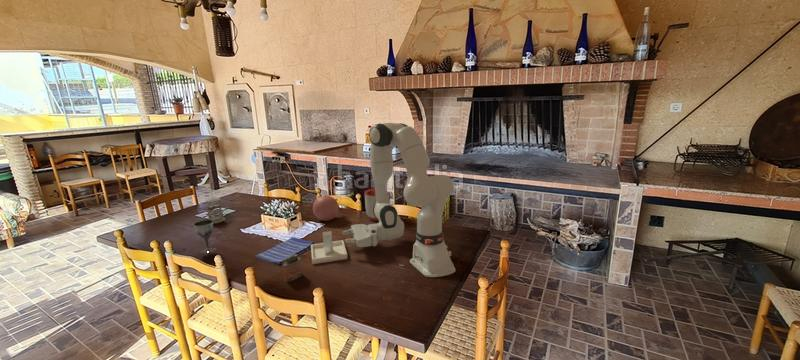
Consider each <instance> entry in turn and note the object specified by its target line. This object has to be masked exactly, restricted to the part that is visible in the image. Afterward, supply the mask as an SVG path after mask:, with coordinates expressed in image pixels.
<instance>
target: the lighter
mask: <svg viewBox="0 0 800 360" xmlns="http://www.w3.org/2000/svg"><path fill="white" fill-rule="evenodd" d="M282 267H283V275H284V282H285V283H289V282H292V281H294V280H296V279H298V278H300V277H302V276H303V272H302V258H301V257H299V255H297V254H295V255H290V257H288V258H285V259H284V263H282Z"/></svg>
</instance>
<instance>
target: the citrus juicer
mask: <svg viewBox="0 0 800 360" xmlns="http://www.w3.org/2000/svg"><path fill="white" fill-rule="evenodd" d="M363 193H364V201H365V202H364V205H365V207H364V208H365V212H366V215H367V217H368V219H369V220H370V221H373V222H379V220H378V219H377V218H376V217H375V216H374V214H373V207H374V204H375V187H374V188H370V189H369V188H368V189H367V190H365V191H364V192H363ZM387 199H388V202H389V204H390V205H391V199H393V196H391V192H390V191H387Z"/></svg>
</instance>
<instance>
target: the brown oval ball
mask: <svg viewBox="0 0 800 360" xmlns="http://www.w3.org/2000/svg"><path fill="white" fill-rule="evenodd" d="M339 208H340V207H339V203H338V198H334V197H333V196H330V195H322V196H319V197H318V198H316V199H315V201H314V202H313V204H312V211H313V215H314V216H315V218H317V220H320V221H324V222H326V221H332V220H333V219H334V218H336V216H337V215H338V213H339V210H340V209H339Z"/></svg>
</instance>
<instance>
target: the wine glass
mask: <svg viewBox="0 0 800 360" xmlns="http://www.w3.org/2000/svg"><path fill="white" fill-rule="evenodd" d="M193 226H194V230H195V233H196V234H197V236H198V237H200V238H202V239H203V240H204V242H205V244H206V247H205V248H203V249H201V250H200V254H202V255H203V254H204V255H205V254H211V253H213V252H215V251H216V250H217V247H215V246H210V245H209V239H210V237H211V235H212V234H213V233H214V223H213V221H212V220H209V219H202V220H198V221H196V222H194V225H193Z"/></svg>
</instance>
